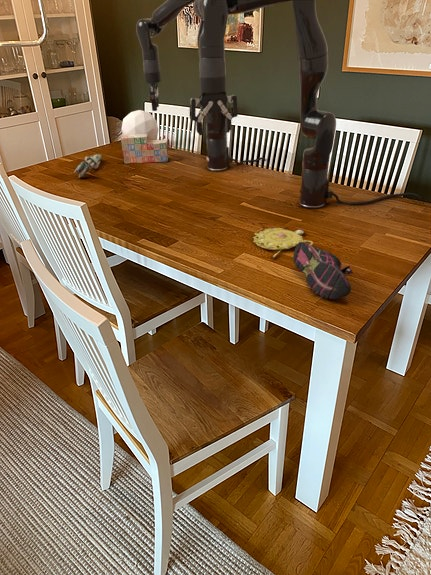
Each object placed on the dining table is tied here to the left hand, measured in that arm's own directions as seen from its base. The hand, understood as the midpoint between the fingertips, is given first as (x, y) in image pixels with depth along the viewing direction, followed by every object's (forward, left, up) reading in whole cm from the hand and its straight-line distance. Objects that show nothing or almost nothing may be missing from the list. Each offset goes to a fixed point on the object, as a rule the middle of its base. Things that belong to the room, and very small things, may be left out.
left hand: (155, 108), depth 207 cm
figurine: (+34, -6, -24) cm, 42 cm away
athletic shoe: (+13, +130, -24) cm, 133 cm away
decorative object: (+8, +105, -24) cm, 108 cm away
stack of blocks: (+6, -3, -24) cm, 25 cm away
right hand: (+19, +83, +7) cm, 86 cm away
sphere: (-2, -27, -24) cm, 37 cm away
